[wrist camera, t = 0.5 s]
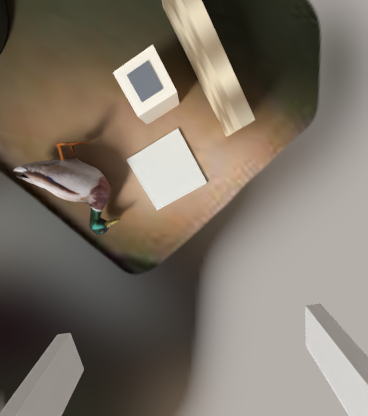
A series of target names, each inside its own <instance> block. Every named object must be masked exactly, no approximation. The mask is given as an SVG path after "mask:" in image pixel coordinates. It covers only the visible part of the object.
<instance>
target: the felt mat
mask: <svg viewBox="0 0 368 416" xmlns="http://www.w3.org/2000/svg"><path fill="white" fill-rule="evenodd" d="M127 162H128V164H129V165H130V167H131V168H132V170H133V172H134V173H135V175H136V177H137V178H138V180H139V181H140V183H141V185H142V186H143V188H144V190H145V191H146V193H147V194H148V196H149V198H150V199H151V201H152V203H153V204H154V206H155V207H156V209H157V210H159V209H160V208H162V207H164V206H166V205H168V204H170V203H171V202H173V201H175V200H177V199H179V198H180V197H182V196H184V195H186V194H188V193H189V192H191V191H193V190H195V189H197V188H199V187H200V186H202V185H204V184H206V183H207V181H206V180H205V178H204V176H203V174H202V172H201V170H200V168H199V167H198V165H197V163H196V161H195V159H194V157H193V155H192V153H191V152H190V150H189V148H188V146H187V144H186V142H185V140H184V139H183V137H182V135H181V133H180V131H179V129H178V128H177V129H176V130H174V131H172V132H171V133H169V134H168V135H166V136H164V137H163V138H161V139H159V140H158V141H156V142H154V143H153V144H151V145H150V146H148V147H146V148H145V149H143V150H141V151H140V152H138V153H137V154H135V155H133V156H132V157H130V158H128V159H127Z"/></svg>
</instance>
